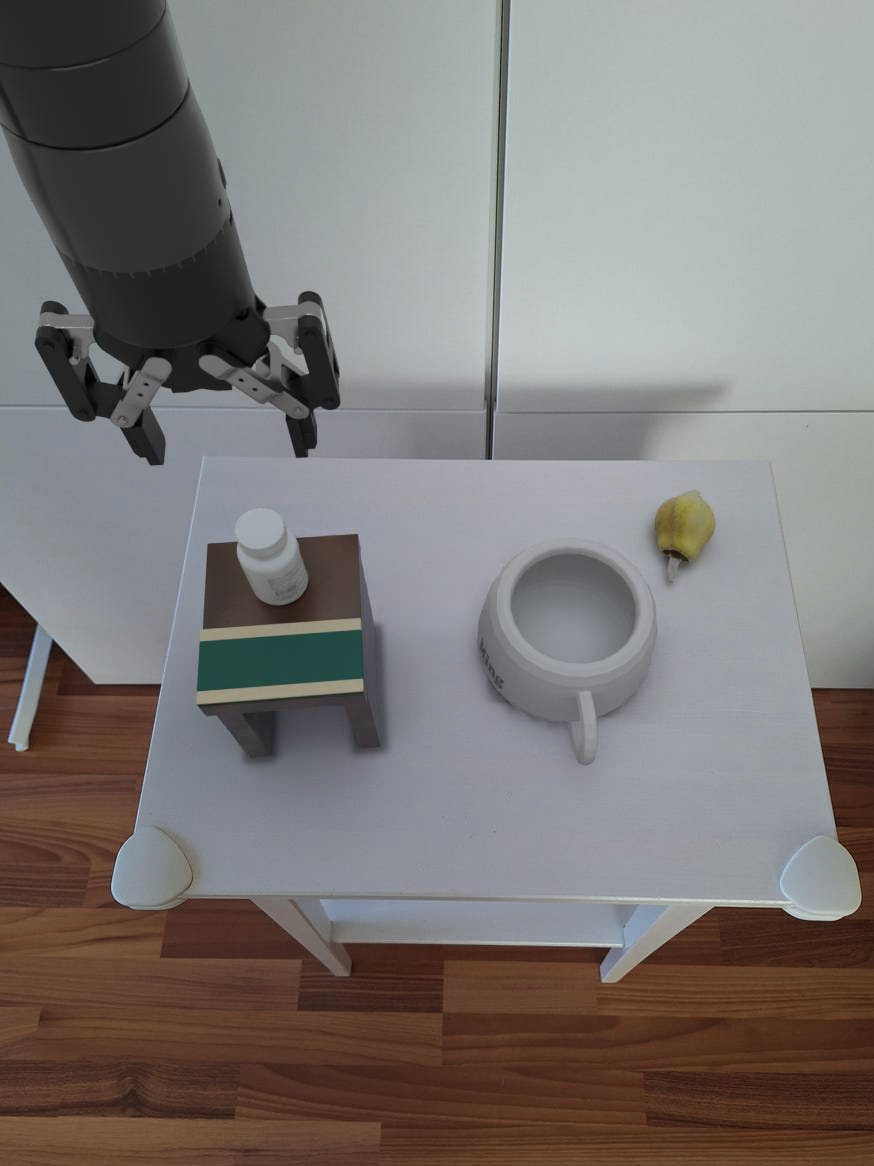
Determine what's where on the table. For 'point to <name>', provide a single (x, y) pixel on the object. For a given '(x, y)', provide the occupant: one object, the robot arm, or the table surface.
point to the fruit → (683, 528)
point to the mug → (568, 634)
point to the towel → (280, 662)
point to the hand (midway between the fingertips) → (231, 450)
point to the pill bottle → (270, 557)
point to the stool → (326, 597)
